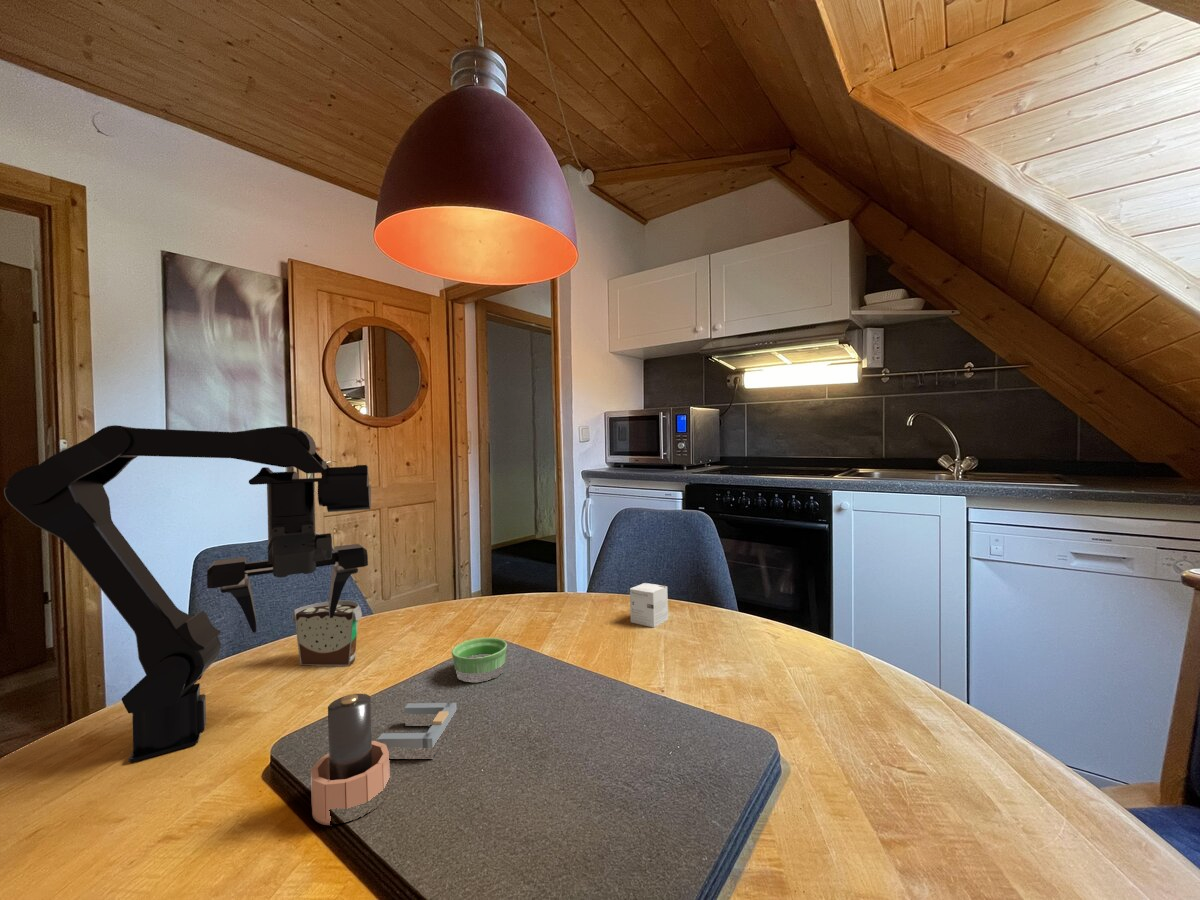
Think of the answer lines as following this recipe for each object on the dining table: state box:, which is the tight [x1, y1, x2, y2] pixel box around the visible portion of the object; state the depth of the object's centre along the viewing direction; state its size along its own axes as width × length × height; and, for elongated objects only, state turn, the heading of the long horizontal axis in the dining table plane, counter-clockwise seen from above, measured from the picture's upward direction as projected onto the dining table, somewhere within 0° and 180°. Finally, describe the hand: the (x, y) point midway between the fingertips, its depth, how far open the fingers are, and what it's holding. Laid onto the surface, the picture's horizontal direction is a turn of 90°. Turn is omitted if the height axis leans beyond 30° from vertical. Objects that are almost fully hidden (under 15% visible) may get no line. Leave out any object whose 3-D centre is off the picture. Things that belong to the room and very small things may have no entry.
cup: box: [310, 740, 391, 826], centre depth 51 cm, size 7×7×4 cm
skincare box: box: [629, 582, 669, 629], centre depth 103 cm, size 6×6×7 cm
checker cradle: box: [376, 702, 458, 748], centre depth 61 cm, size 7×8×3 cm
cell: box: [327, 693, 373, 780], centre depth 51 cm, size 4×4×10 cm
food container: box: [291, 599, 363, 667], centre depth 89 cm, size 12×6×10 cm, turn 84°
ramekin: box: [451, 637, 508, 674], centre depth 81 cm, size 9×9×4 cm
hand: (294, 624), depth 68 cm, fingers open, 9 cm apart
